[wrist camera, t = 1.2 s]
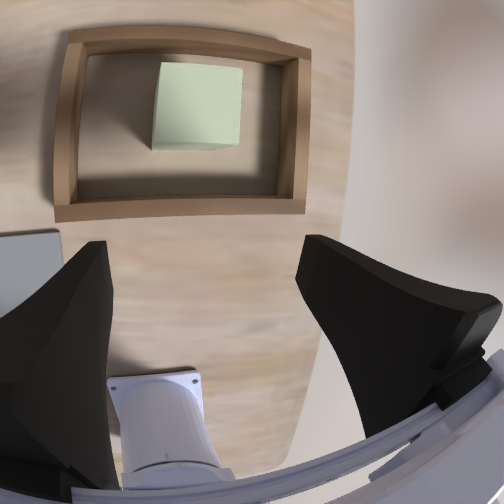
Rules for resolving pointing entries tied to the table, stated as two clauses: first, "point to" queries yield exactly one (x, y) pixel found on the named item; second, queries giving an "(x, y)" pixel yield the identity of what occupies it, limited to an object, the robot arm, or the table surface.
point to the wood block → (196, 107)
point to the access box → (194, 43)
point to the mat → (27, 266)
